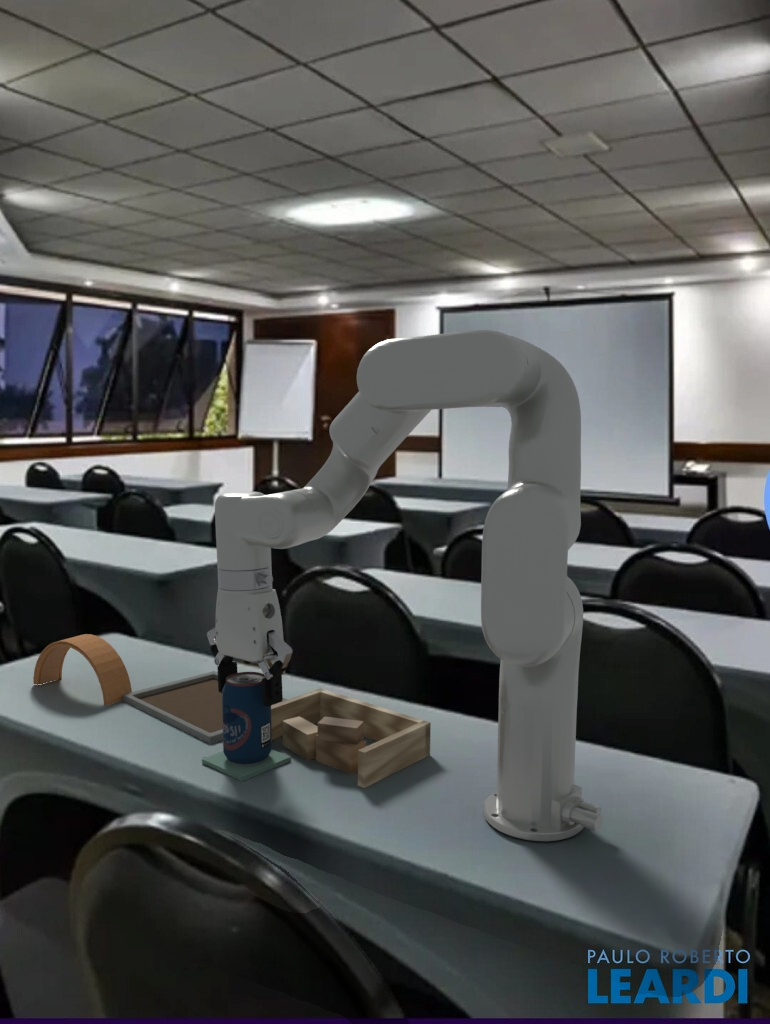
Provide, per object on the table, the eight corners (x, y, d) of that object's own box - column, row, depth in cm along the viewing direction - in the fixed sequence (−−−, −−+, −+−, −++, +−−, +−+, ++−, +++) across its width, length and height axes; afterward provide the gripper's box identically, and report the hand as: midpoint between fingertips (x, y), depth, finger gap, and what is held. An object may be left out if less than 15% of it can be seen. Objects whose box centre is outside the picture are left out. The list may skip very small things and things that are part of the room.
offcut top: (363, 737, 119) (363, 721, 119) (356, 744, 117) (357, 728, 116) (324, 732, 121) (324, 716, 121) (317, 739, 118) (317, 723, 118)
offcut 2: (365, 768, 118) (365, 741, 118) (351, 775, 116) (351, 747, 115) (330, 755, 123) (330, 729, 122) (315, 761, 120) (315, 735, 120)
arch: (105, 706, 142) (103, 650, 141) (33, 686, 153) (30, 633, 151) (132, 697, 147) (130, 642, 146) (60, 678, 158) (58, 626, 156)
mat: (290, 760, 120) (290, 756, 120) (242, 781, 113) (242, 777, 113) (250, 744, 126) (250, 740, 126) (202, 763, 119) (202, 759, 119)
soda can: (213, 761, 118) (211, 680, 117) (244, 744, 124) (242, 667, 123) (251, 771, 115) (250, 688, 113) (281, 754, 121) (280, 674, 119)
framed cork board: (214, 670, 159) (316, 710, 138) (214, 678, 159) (316, 719, 138) (121, 694, 145) (219, 742, 124) (122, 703, 145) (219, 752, 124)
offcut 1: (324, 755, 122) (324, 730, 122) (307, 761, 121) (307, 734, 120) (299, 741, 128) (299, 716, 127) (282, 745, 126) (282, 720, 126)
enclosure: (430, 754, 123) (430, 722, 122) (364, 788, 112) (364, 752, 111) (320, 717, 137) (320, 688, 137) (252, 743, 126) (252, 712, 126)
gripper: (307, 581, 114) (311, 702, 115) (227, 569, 125) (232, 679, 127) (265, 590, 108) (270, 717, 110) (186, 577, 119) (191, 692, 121)
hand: (250, 697), depth 118 cm, fingers open, 9 cm apart
